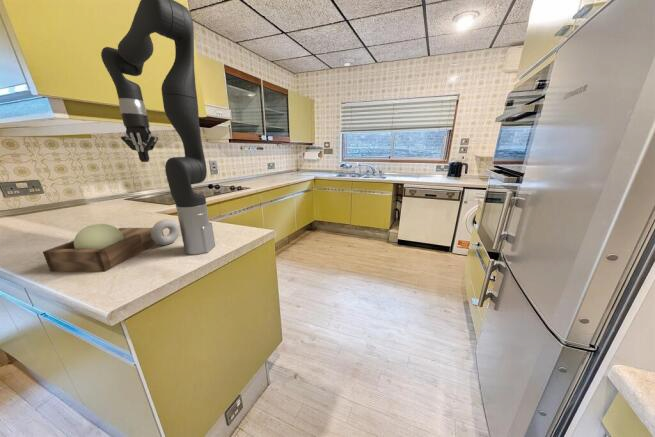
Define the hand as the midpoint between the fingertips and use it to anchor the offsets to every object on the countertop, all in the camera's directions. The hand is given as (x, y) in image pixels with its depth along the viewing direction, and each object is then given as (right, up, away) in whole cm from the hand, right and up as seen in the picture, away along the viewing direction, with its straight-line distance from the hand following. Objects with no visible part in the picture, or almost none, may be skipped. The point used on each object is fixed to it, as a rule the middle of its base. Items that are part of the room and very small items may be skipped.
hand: (145, 161), depth 89 cm
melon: (-5, -30, -13) cm, 33 cm away
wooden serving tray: (-5, -35, -7) cm, 36 cm away
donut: (+9, -33, 0) cm, 34 cm away
